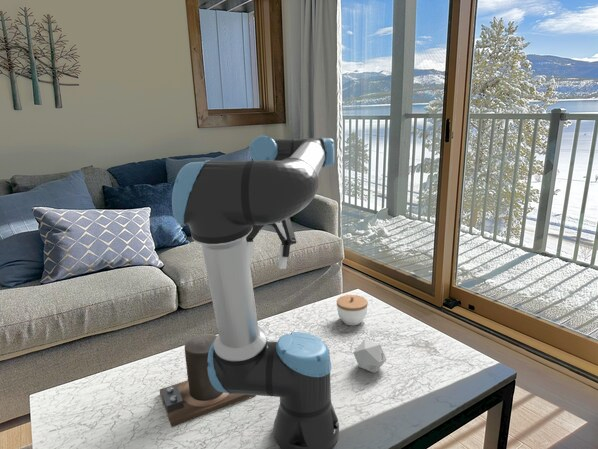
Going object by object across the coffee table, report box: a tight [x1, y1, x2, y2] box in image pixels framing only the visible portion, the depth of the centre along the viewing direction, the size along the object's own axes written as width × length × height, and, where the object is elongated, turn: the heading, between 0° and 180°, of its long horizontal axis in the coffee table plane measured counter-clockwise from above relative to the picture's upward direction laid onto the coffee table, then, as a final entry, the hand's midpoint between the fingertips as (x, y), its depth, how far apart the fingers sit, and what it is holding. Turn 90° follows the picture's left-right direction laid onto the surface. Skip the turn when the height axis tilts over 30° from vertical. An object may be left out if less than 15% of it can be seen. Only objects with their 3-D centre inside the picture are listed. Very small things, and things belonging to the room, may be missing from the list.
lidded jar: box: [336, 294, 369, 326], centre depth 144 cm, size 11×11×9 cm
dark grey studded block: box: [161, 385, 184, 413], centre depth 109 cm, size 7×22×3 cm, turn 119°
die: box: [353, 338, 387, 374], centre depth 118 cm, size 8×9×10 cm
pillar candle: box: [184, 333, 223, 401], centre depth 107 cm, size 10×10×15 cm
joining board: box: [159, 379, 257, 428], centre depth 109 cm, size 14×22×2 cm, turn 119°
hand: (264, 266), depth 120 cm, fingers open, 13 cm apart
